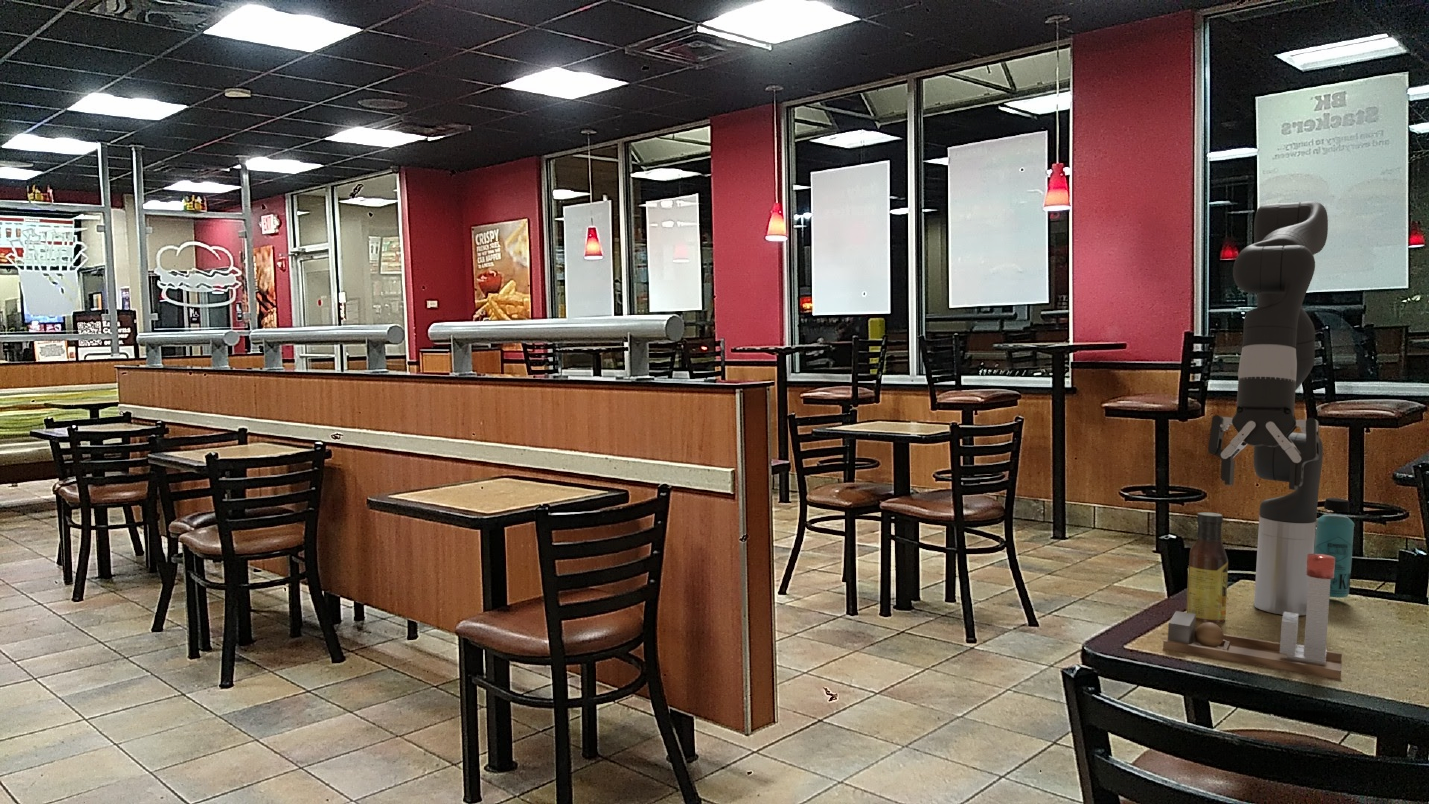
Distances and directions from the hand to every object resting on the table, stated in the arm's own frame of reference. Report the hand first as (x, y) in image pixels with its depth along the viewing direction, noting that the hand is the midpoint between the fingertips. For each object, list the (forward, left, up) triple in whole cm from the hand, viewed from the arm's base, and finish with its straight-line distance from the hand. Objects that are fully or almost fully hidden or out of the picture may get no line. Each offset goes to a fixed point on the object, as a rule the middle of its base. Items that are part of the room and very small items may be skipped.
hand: (1260, 487), depth 148 cm
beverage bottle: (-49, +33, -29) cm, 66 cm away
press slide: (-5, +10, -27) cm, 29 cm away
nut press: (-8, +3, -29) cm, 30 cm away
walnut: (-10, -2, -28) cm, 30 cm away
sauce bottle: (-28, +3, -29) cm, 41 cm away
